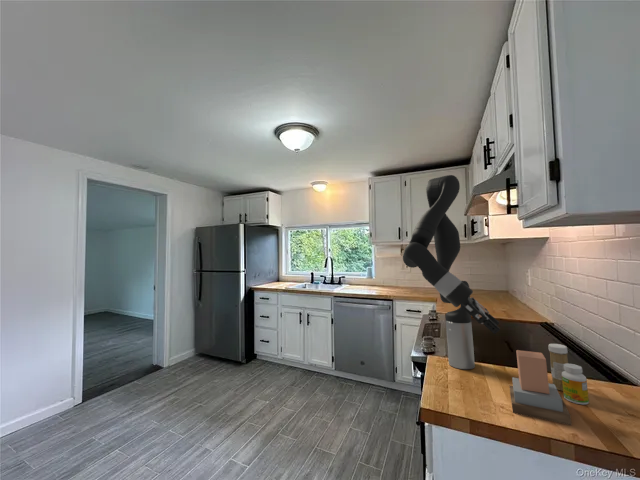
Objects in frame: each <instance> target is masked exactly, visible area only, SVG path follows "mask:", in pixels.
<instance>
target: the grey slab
mask: <svg viewBox="0 0 640 480" xmlns="http://www.w3.org/2000/svg"><path fill="white" fill-rule="evenodd" d="M511 378H512V386H513V391H514V397H515V402H516V403H521V404H526V405H531V406H536V407H540V408H545V409H550V410H555V411H560V412H563V405H562V399H563V398H562V399H561V397H562V396H561V397H560V395H561V394H560V393H559V390H558V389H557V388H556V386H555V384H553V383H550V382H548V384H549V393H550V394H546V393H540V392H534V391H528V390H522V389H521V385H520V382H519V377H511ZM559 394H560V395H559Z"/></svg>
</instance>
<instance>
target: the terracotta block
mask: <svg viewBox="0 0 640 480" xmlns="http://www.w3.org/2000/svg"><path fill="white" fill-rule="evenodd" d="M516 360H517V361H516V362H517V363H516V364H517V372H518V378H519V382H520V385H521V389H522V390H528V391H534V392H540V393H546V394H550V393H549V384H548V383H549V378H548V377H549V376H548V366H547V365H548V364H547V359H546V357H545V355H544V354H543V352H538V351H530V350H529V351H528V350H519V349H517V350H516Z"/></svg>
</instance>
